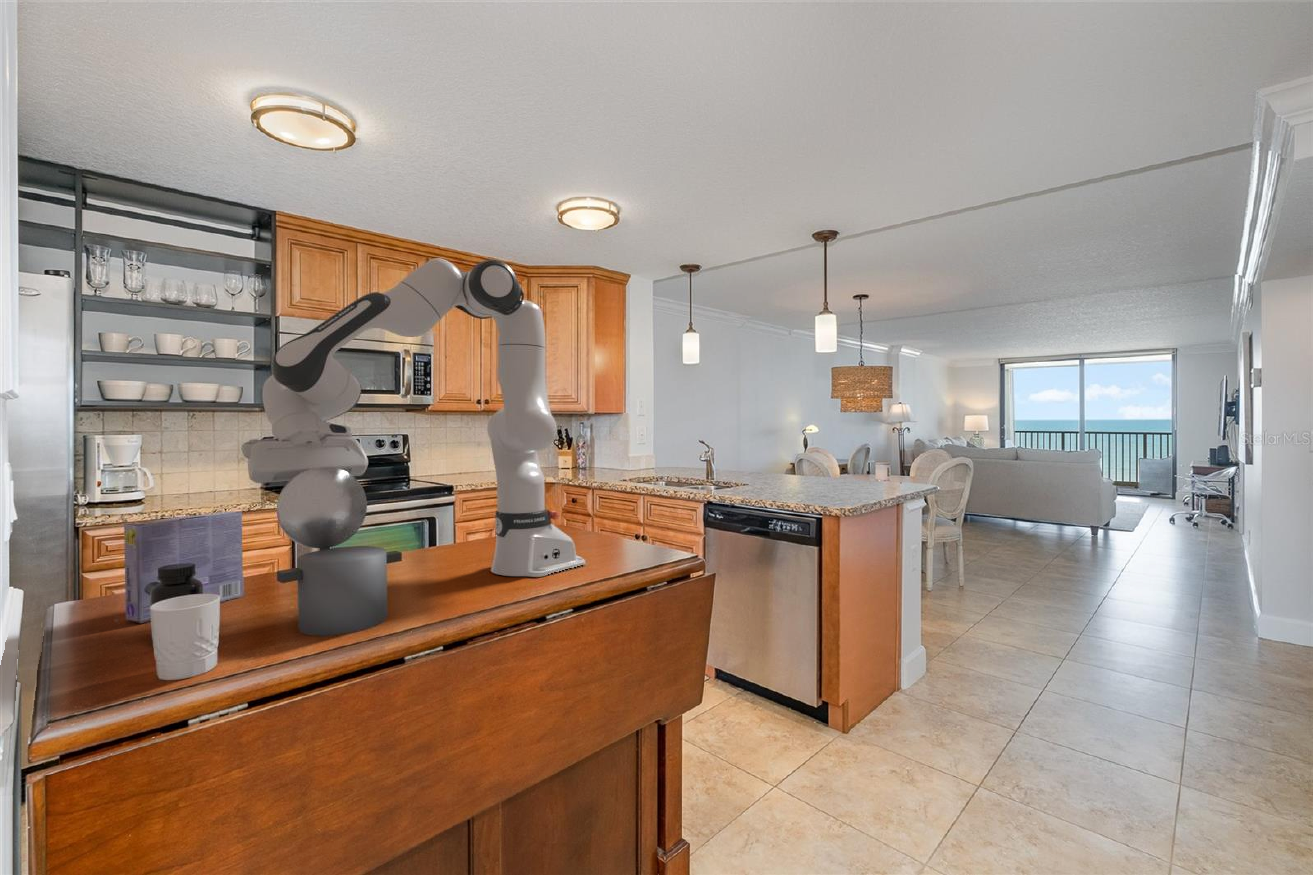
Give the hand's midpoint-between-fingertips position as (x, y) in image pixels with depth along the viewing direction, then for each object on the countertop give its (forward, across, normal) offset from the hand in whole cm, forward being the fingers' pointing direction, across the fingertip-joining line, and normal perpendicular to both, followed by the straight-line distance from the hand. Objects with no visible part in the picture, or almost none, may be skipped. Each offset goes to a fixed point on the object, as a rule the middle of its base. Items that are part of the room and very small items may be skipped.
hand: (320, 492), depth 112 cm
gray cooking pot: (+23, 0, +8) cm, 24 cm away
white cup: (+26, -23, +5) cm, 35 cm away
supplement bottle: (+15, -21, +17) cm, 31 cm away
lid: (+3, 0, 0) cm, 3 cm away
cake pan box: (+2, -16, +30) cm, 34 cm away
